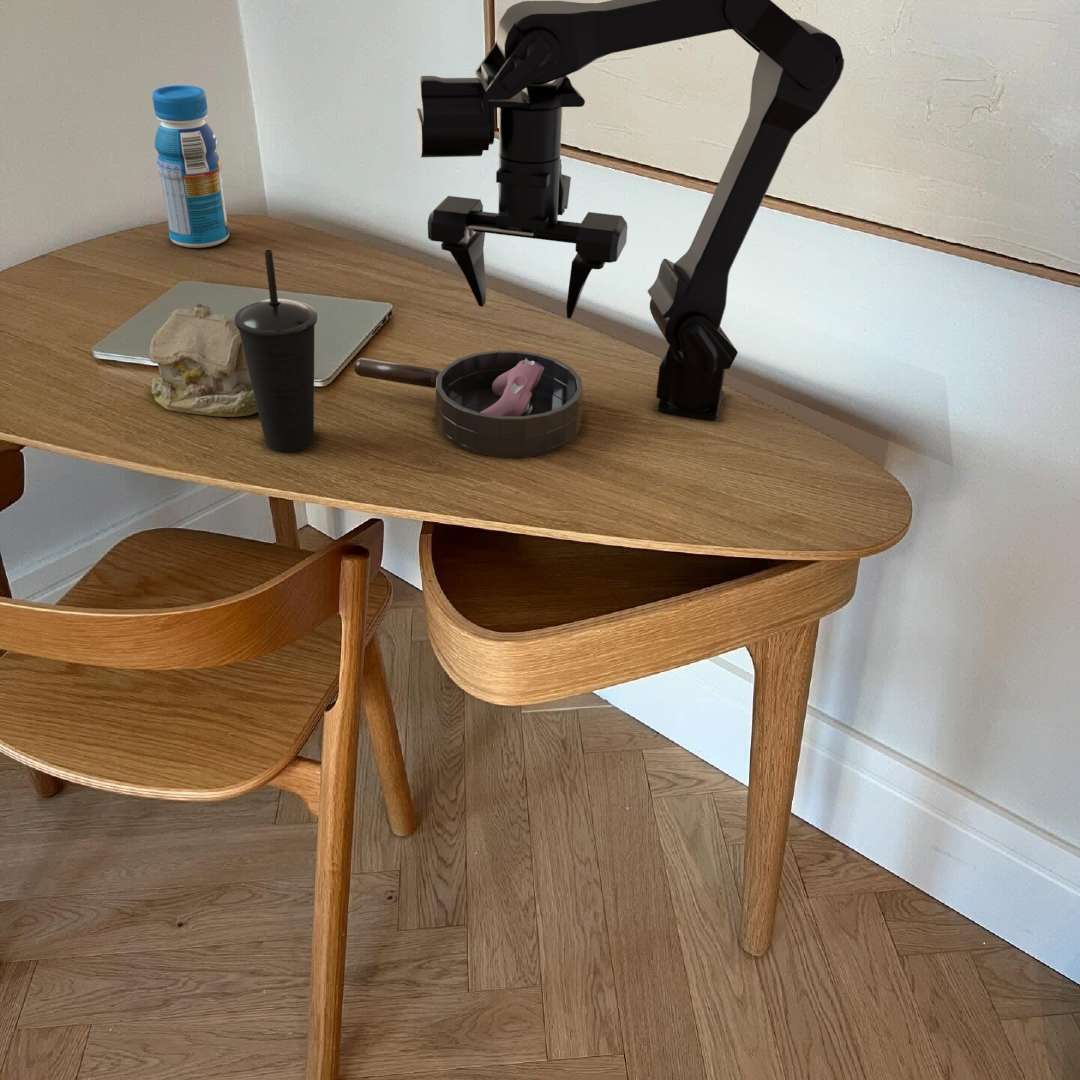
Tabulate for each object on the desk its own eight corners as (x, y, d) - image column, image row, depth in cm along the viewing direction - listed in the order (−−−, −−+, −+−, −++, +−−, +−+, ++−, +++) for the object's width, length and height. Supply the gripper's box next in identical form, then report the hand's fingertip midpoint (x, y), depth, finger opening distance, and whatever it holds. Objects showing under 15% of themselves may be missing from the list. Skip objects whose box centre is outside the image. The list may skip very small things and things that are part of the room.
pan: (593, 399, 121) (596, 362, 118) (560, 468, 109) (563, 429, 106) (462, 378, 124) (462, 341, 121) (416, 443, 112) (415, 405, 109)
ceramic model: (129, 401, 116) (111, 314, 111) (191, 358, 125) (177, 275, 119) (243, 428, 113) (231, 339, 107) (299, 381, 121) (290, 297, 116)
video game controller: (506, 452, 113) (538, 403, 109) (467, 430, 112) (498, 379, 108) (526, 407, 121) (556, 359, 116) (490, 386, 120) (519, 337, 116)
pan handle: (446, 384, 117) (445, 367, 116) (440, 392, 115) (439, 375, 114) (358, 370, 119) (357, 353, 117) (351, 378, 117) (350, 361, 116)
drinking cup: (292, 468, 107) (270, 273, 95) (235, 444, 110) (206, 253, 98) (343, 436, 112) (328, 247, 101) (287, 414, 115) (266, 229, 104)
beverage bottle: (158, 246, 152) (133, 96, 140) (184, 225, 159) (162, 80, 147) (216, 252, 151) (195, 101, 139) (240, 231, 158) (221, 85, 146)
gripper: (643, 141, 106) (630, 292, 116) (460, 122, 110) (461, 270, 119) (621, 175, 98) (610, 335, 107) (423, 153, 101) (428, 310, 110)
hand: (525, 310), depth 111 cm, fingers open, 9 cm apart
